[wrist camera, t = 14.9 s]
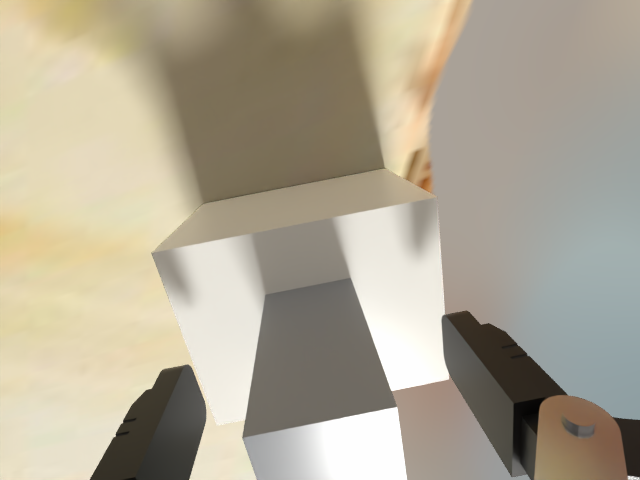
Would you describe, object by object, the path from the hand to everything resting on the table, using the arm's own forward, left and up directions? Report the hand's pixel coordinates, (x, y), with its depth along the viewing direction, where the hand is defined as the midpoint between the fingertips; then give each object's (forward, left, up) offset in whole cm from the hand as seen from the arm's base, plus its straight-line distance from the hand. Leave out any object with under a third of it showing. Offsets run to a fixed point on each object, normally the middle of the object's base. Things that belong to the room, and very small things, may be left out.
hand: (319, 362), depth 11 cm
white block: (0, 0, -10) cm, 10 cm away
